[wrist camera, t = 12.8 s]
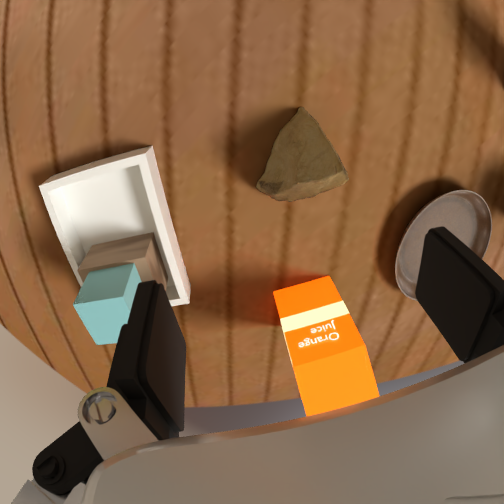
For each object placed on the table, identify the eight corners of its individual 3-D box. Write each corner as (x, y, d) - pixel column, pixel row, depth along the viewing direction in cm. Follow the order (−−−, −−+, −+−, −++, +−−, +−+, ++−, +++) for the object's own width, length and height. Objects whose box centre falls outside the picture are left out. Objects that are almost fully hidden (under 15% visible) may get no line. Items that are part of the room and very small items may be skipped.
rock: (274, 226, 39) (350, 192, 36) (254, 219, 30) (351, 176, 28) (242, 149, 40) (312, 116, 37) (215, 127, 31) (301, 84, 29)
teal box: (89, 271, 34) (72, 304, 28) (134, 263, 34) (122, 296, 29) (108, 310, 37) (96, 344, 32) (151, 304, 37) (144, 339, 32)
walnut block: (91, 245, 38) (77, 270, 33) (153, 232, 39) (145, 257, 34) (110, 287, 42) (99, 315, 37) (168, 277, 42) (163, 305, 37)
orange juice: (333, 311, 50) (378, 413, 33) (281, 326, 51) (310, 435, 33) (329, 274, 46) (383, 381, 29) (271, 290, 46) (303, 407, 29)
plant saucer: (420, 308, 54) (428, 319, 51) (362, 252, 45) (372, 264, 42) (492, 232, 47) (503, 241, 44) (452, 155, 39) (466, 162, 36)
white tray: (52, 175, 34) (38, 186, 30) (152, 145, 34) (145, 153, 30) (103, 299, 44) (96, 317, 41) (190, 285, 44) (189, 303, 41)
